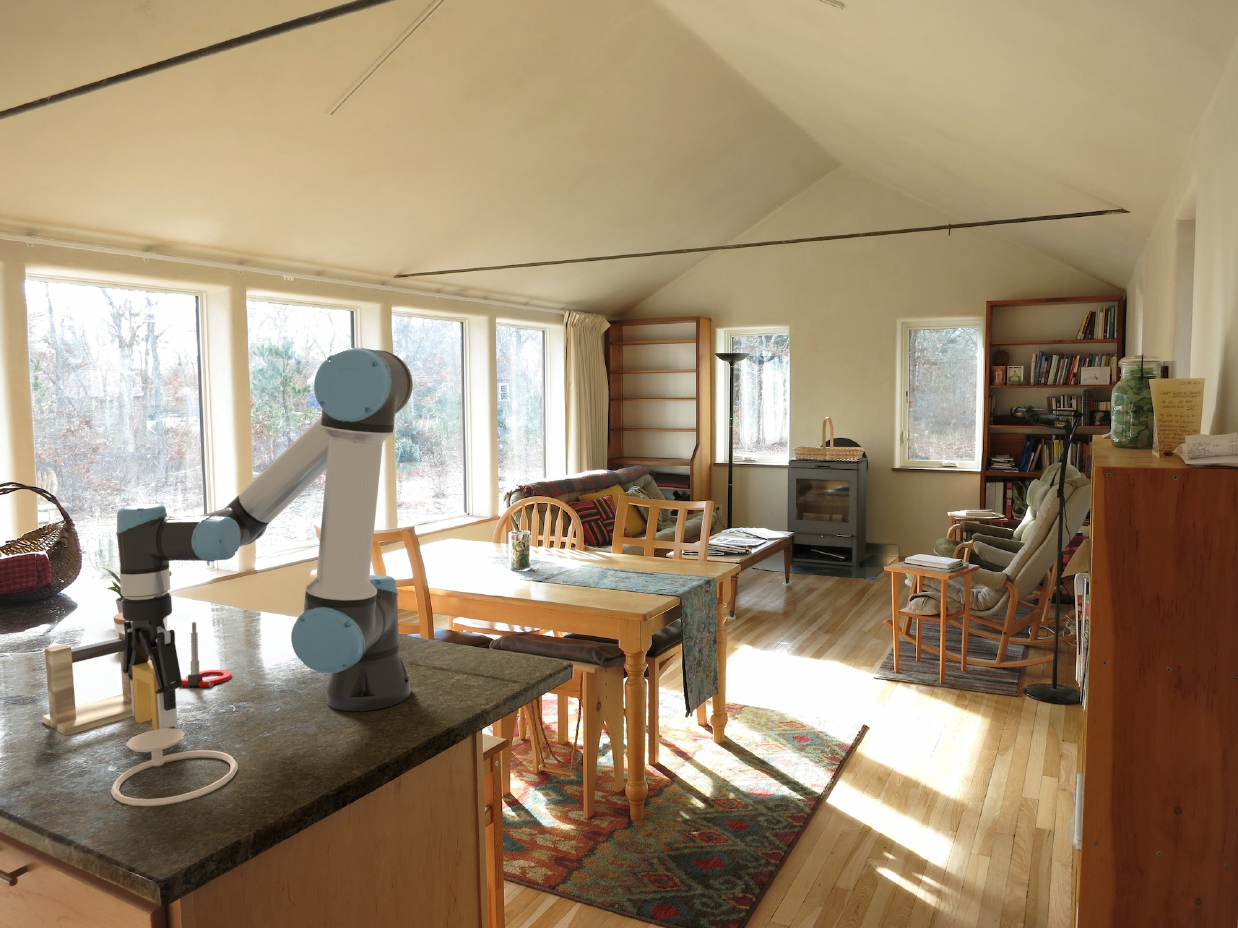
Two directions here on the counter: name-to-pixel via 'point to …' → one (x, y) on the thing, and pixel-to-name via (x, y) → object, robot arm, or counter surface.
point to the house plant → (118, 600)
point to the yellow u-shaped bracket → (145, 694)
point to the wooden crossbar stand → (62, 689)
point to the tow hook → (196, 676)
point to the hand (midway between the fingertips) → (154, 720)
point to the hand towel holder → (155, 744)
